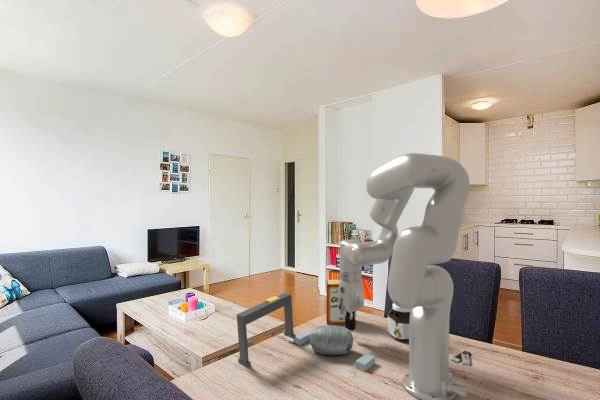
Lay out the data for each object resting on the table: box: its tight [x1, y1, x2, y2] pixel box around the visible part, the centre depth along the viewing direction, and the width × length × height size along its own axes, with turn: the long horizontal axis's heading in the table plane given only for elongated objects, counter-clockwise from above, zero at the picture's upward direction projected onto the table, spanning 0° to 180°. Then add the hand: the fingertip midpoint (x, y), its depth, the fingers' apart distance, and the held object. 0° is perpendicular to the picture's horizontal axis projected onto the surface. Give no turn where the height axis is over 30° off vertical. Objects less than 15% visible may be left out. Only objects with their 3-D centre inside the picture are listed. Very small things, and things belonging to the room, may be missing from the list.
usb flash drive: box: [450, 350, 472, 367], centre depth 96 cm, size 9×5×1 cm, turn 127°
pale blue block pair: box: [292, 331, 376, 372], centre depth 100 cm, size 27×6×2 cm, turn 49°
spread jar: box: [387, 302, 411, 343], centre depth 111 cm, size 12×11×12 cm
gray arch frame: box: [236, 292, 297, 368], centre depth 100 cm, size 21×4×15 cm, turn 139°
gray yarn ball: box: [309, 324, 354, 356], centre depth 100 cm, size 14×10×10 cm
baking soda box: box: [325, 279, 345, 326], centre depth 126 cm, size 10×6×16 cm
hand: (350, 329), depth 109 cm, fingers closed
